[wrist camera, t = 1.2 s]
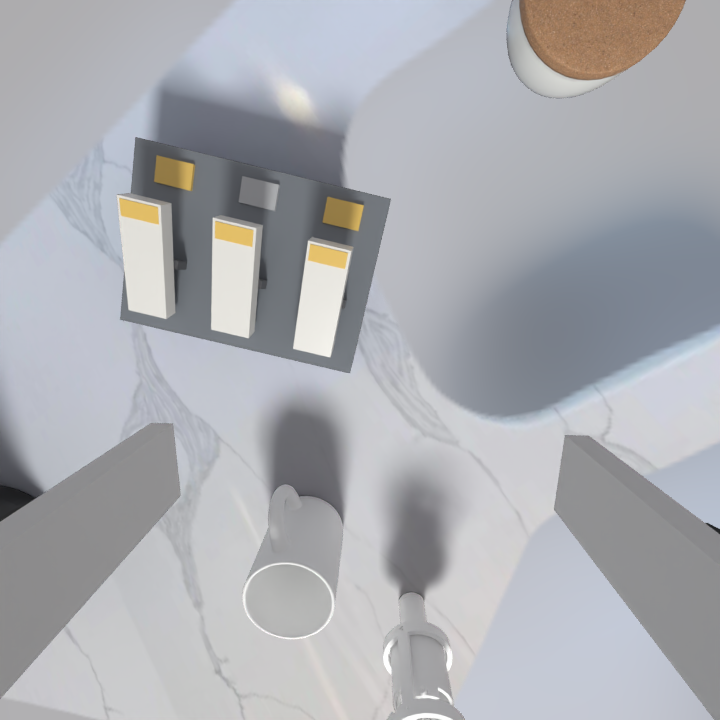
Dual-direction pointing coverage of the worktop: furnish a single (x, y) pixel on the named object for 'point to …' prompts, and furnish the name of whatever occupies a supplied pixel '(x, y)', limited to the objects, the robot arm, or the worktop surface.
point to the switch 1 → (147, 254)
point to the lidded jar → (583, 40)
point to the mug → (295, 567)
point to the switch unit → (278, 247)
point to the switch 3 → (321, 295)
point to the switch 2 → (235, 275)
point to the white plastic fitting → (419, 665)
